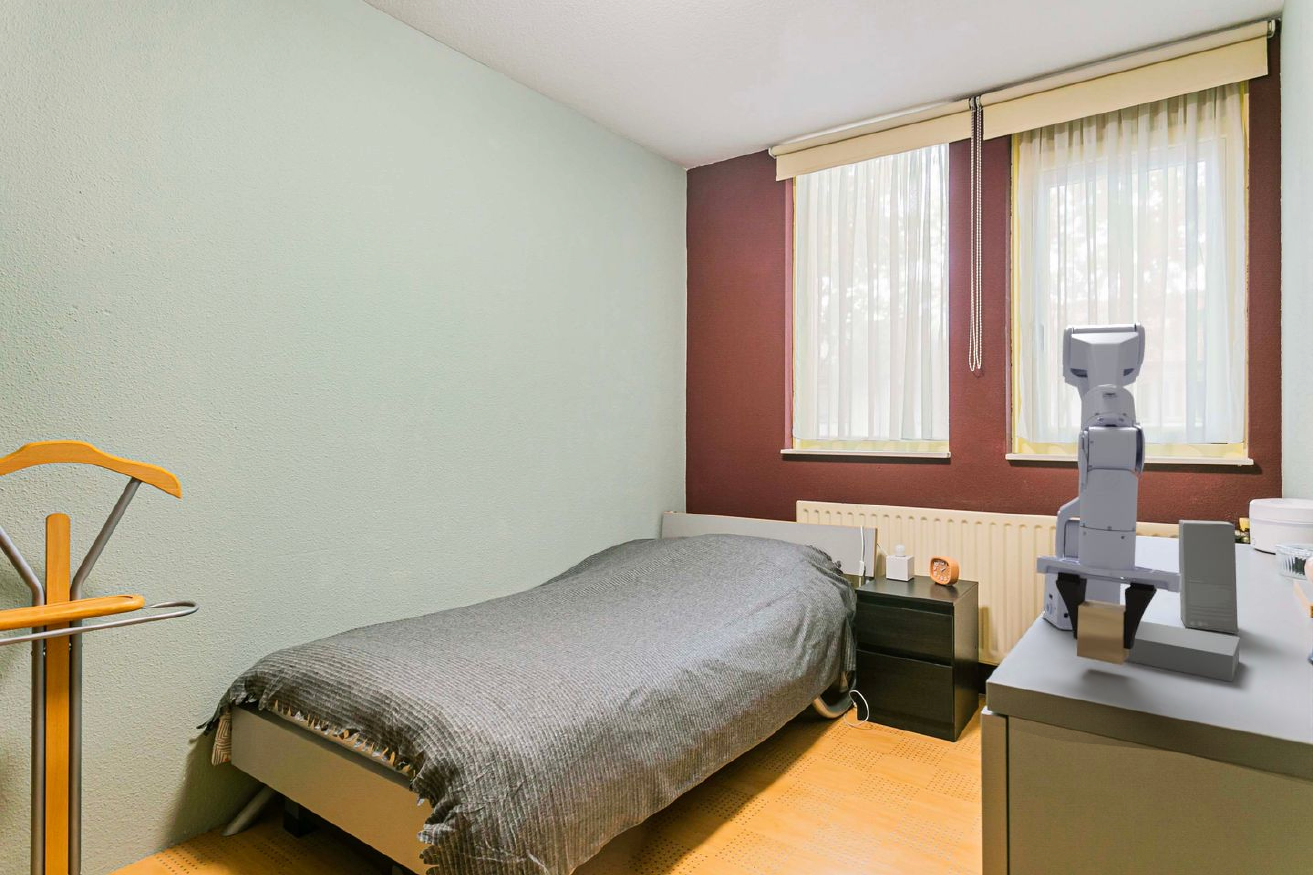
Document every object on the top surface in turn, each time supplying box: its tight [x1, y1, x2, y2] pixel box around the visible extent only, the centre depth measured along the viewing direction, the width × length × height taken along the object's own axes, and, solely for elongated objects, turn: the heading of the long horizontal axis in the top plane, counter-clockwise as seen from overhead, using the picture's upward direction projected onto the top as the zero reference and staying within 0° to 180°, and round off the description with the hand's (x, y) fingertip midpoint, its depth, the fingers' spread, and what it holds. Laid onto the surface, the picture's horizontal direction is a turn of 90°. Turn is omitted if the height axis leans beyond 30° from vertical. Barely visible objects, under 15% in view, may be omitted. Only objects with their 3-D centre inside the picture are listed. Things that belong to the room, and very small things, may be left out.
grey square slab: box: [1124, 620, 1241, 682], centre depth 93 cm, size 11×11×3 cm
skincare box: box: [1178, 519, 1239, 635], centre depth 111 cm, size 8×7×16 cm
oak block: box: [1076, 599, 1129, 666], centre depth 87 cm, size 4×4×6 cm
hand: (1103, 642), depth 87 cm, fingers closed on oak block, 4 cm apart
